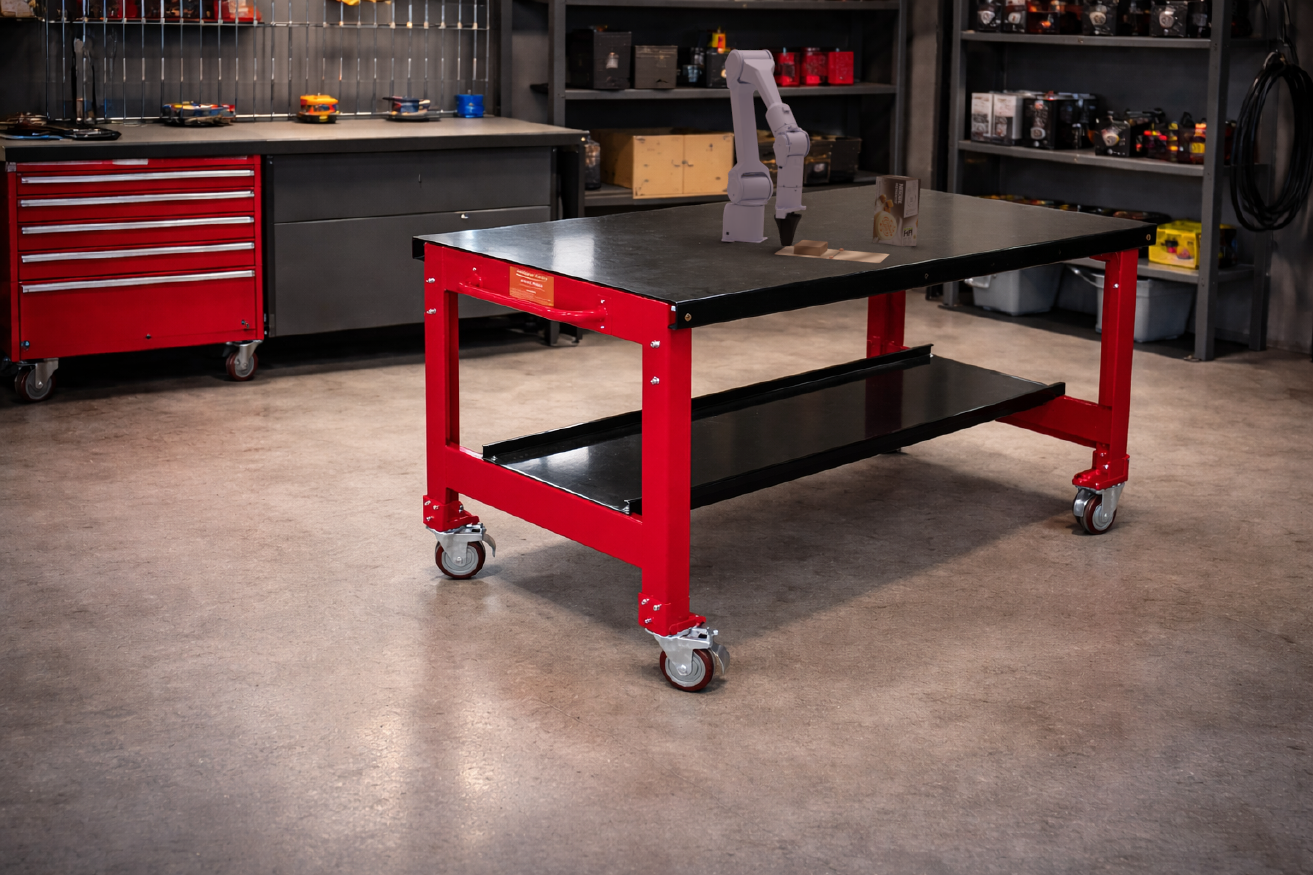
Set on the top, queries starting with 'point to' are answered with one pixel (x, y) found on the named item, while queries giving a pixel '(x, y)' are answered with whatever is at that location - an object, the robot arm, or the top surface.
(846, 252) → the pale wooden flat slab
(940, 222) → the top surface
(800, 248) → the stub tile
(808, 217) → the top surface
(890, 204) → the coffee box
